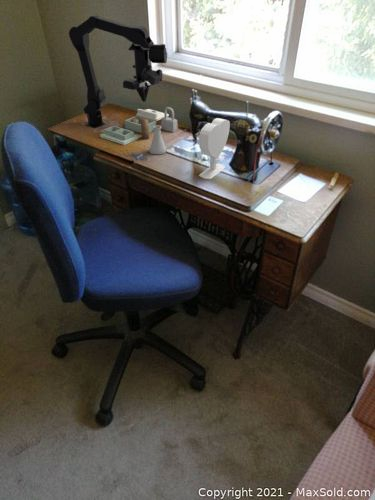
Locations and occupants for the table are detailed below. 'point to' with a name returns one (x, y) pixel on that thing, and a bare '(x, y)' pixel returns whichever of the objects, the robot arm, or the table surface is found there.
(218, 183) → the table surface
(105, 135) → the build board
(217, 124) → the heart sculpture
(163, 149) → the flask
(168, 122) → the padlock
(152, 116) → the cover
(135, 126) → the box
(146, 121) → the dowel
